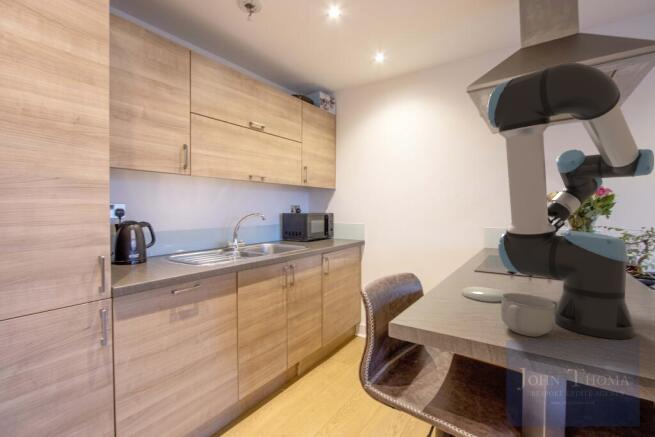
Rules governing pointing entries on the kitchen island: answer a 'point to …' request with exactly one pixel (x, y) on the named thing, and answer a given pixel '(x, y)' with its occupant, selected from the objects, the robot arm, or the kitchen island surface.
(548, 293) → the kitchen island surface
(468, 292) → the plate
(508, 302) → the teacup
